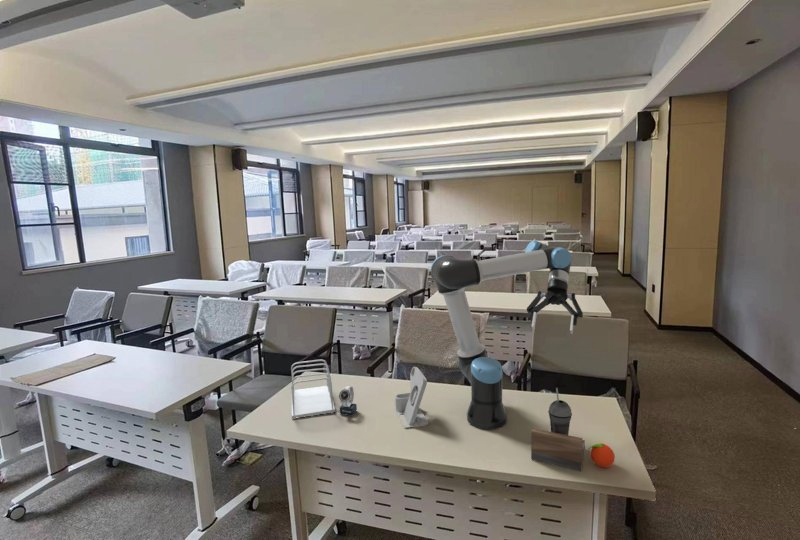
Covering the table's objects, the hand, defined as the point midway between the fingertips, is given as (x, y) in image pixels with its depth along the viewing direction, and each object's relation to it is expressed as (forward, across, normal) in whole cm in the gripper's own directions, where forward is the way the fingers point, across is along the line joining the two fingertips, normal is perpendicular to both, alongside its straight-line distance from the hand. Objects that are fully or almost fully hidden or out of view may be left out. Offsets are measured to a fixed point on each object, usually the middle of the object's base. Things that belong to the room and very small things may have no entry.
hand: (551, 330), depth 160 cm
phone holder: (+39, +50, -12) cm, 65 cm away
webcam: (+44, +75, -6) cm, 87 cm away
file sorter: (+44, +95, -7) cm, 104 cm away
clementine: (+42, -19, -9) cm, 47 cm away
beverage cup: (+39, -6, -7) cm, 40 cm away
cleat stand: (+40, -6, -10) cm, 42 cm away
